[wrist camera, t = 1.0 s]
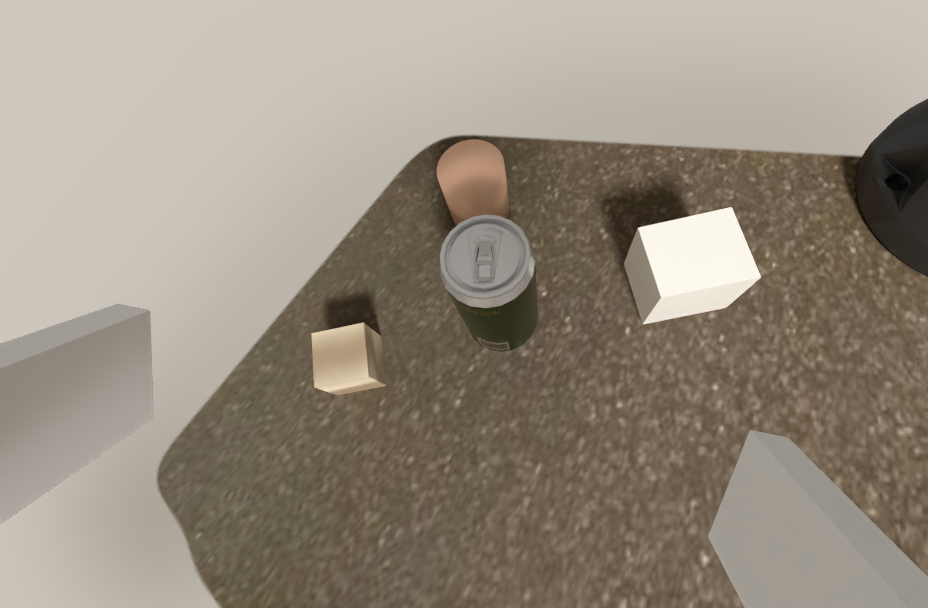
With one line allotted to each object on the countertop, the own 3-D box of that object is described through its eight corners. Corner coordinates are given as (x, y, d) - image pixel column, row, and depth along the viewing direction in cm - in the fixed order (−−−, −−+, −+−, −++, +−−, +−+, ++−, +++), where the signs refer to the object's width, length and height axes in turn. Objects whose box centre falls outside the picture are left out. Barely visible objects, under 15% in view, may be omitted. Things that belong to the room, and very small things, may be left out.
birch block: (386, 385, 36) (368, 376, 33) (337, 395, 37) (314, 387, 33) (381, 336, 38) (363, 322, 34) (334, 346, 38) (311, 333, 34)
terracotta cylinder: (522, 207, 39) (518, 164, 34) (479, 247, 39) (468, 210, 33) (481, 174, 41) (471, 128, 36) (439, 211, 41) (423, 171, 35)
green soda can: (538, 353, 35) (535, 301, 24) (467, 353, 36) (432, 303, 25) (537, 286, 37) (534, 208, 26) (469, 288, 38) (438, 213, 27)
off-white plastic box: (725, 308, 34) (761, 277, 29) (642, 324, 35) (661, 297, 29) (702, 247, 36) (731, 207, 30) (623, 264, 37) (637, 227, 31)
